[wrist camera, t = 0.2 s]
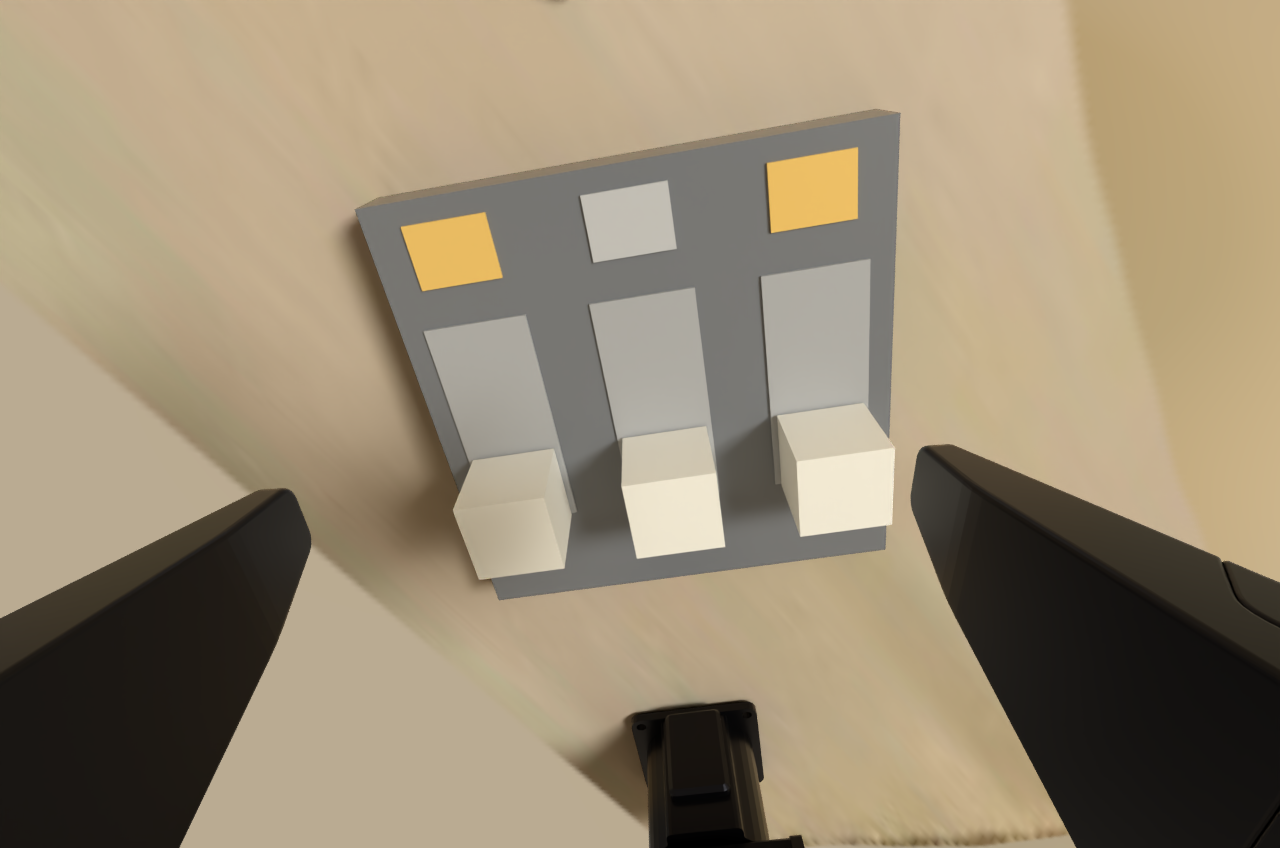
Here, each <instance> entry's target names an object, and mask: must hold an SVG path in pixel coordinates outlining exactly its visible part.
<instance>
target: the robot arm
mask: <svg viewBox="0 0 1280 848" xmlns="http://www.w3.org/2000/svg"><path fill="white" fill-rule="evenodd" d="M911 507H912V511H913V514H914V516H915V519H916V522H917V524H918V527H919V529H920V532H921V535H922V537H923V540H924V543H925V545H926V548H927V550H928V553H929V556H930V558H931V561H932V563H933V566H934V569H935V571H936V574H937V577H938V579H939V582H940V584H941V587H942V589H943V592H944V594H945V597H946V599H947V601H948V603H949V605H950V607H951V609H952V612H953V614H954V616H955V618H956V619H957V621H958V623H959V625H960V627H961V629H962V631H963V633H964V635H965V637H966V639H967V640H968V642H969V644H970V646H971V648H972V650H973V652H974V654H975V656H976V658H977V659H978V661H979V663H980V665H981V667H982V669H983V671H984V673H985V675H986V677H987V679H988V680H989V682H990V684H991V686H992V688H993V690H994V692H995V694H996V696H997V698H998V699H999V701H1000V703H1001V705H1002V707H1003V709H1004V711H1005V713H1006V715H1007V717H1008V719H1009V720H1010V722H1011V724H1012V726H1013V728H1014V730H1015V732H1016V734H1017V736H1018V738H1019V739H1020V741H1021V743H1022V745H1023V747H1024V749H1025V751H1026V753H1027V755H1028V757H1029V759H1030V760H1031V762H1032V764H1033V766H1034V768H1035V770H1036V772H1037V774H1038V776H1039V778H1040V779H1041V781H1042V783H1043V785H1044V787H1045V789H1046V791H1047V793H1048V795H1049V797H1050V799H1051V800H1052V802H1053V804H1054V806H1055V808H1056V810H1057V812H1058V814H1059V816H1060V818H1061V819H1062V821H1063V823H1064V825H1065V827H1066V829H1067V831H1068V833H1069V835H1070V837H1071V839H1072V840H1073V842H1074V844H1075V846H1076V848H1280V582H1277V581H1275V580H1272V579H1270V578H1267V577H1265V576H1263V575H1260V574H1258V573H1255V572H1253V571H1250V570H1248V569H1246V568H1244V567H1241V566H1239V565H1236V564H1234V563H1232V562H1230V561H1224V562H1221V559H1220V558H1219V557H1217V556H1215V555H1213V554H1210V553H1208V552H1205V551H1203V550H1201V549H1198V548H1196V547H1194V546H1191V545H1189V544H1186V543H1184V542H1182V541H1179V540H1177V539H1175V538H1172V537H1170V536H1168V535H1165V534H1163V533H1160V532H1158V531H1156V530H1153V529H1151V528H1149V527H1146V526H1144V525H1141V524H1139V523H1137V522H1134V521H1132V520H1130V519H1127V518H1125V517H1123V516H1120V515H1118V514H1115V513H1113V512H1111V511H1108V510H1106V509H1104V508H1101V507H1099V506H1096V505H1094V504H1092V503H1089V502H1087V501H1085V500H1082V499H1080V498H1078V497H1075V496H1073V495H1070V494H1068V493H1066V492H1063V491H1061V490H1059V489H1056V488H1054V487H1052V486H1049V485H1047V484H1044V483H1042V482H1040V481H1037V480H1035V479H1033V478H1030V477H1028V476H1025V475H1023V474H1021V473H1018V472H1016V471H1014V470H1011V469H1009V468H1007V467H1004V466H1002V465H999V464H997V463H995V462H992V461H990V460H988V459H985V458H983V457H980V456H978V455H976V454H973V453H971V452H969V451H966V450H964V449H962V448H959V447H957V446H954V445H950V444H945V445H930V446H924V447H922V448H921V449H920V450H919V452H918V455H917V459H916V465H915V472H914V478H913V484H912V490H911ZM310 549H311V534H310V531H309V529H308V526H307V524H306V521H305V519H304V516H303V514H302V511H301V509H300V506H299V504H298V501H297V499H296V497H295V495H294V494H293V492H292V491H290V490H288V489H285V488H279V489H264V490H258V491H256V492H254V493H252V494H250V495H248V496H246V497H244V498H242V499H240V500H238V501H236V502H234V503H232V504H229V505H228V506H225V507H224V508H221V509H219V510H217V511H215V512H213V513H211V514H209V515H207V516H205V517H203V518H201V519H199V520H197V521H195V522H193V523H192V524H189V525H187V526H185V527H183V528H181V529H180V530H178V531H175V532H173V533H171V534H169V535H167V536H165V537H163V538H161V539H159V540H157V541H155V542H153V543H151V544H149V545H147V546H145V547H143V548H141V549H139V550H137V551H135V552H133V553H131V554H129V555H127V556H125V557H123V558H121V559H119V560H117V561H115V562H113V563H111V564H109V565H107V566H105V567H103V568H101V569H99V570H97V571H95V572H93V573H91V574H89V575H87V576H85V577H83V578H81V579H79V580H77V581H75V582H73V583H71V584H69V585H67V586H65V587H63V588H61V589H59V590H57V591H55V592H53V593H51V594H49V595H47V596H45V597H43V598H41V599H39V600H37V601H34V602H32V603H30V604H29V605H26V606H24V607H22V608H20V609H18V610H16V611H15V612H12V613H10V614H8V615H6V616H4V617H2V618H0V848H179V847H180V845H181V843H182V841H183V839H184V837H185V835H186V832H187V830H188V829H189V826H190V824H191V822H192V820H193V818H194V816H195V814H196V812H197V810H198V808H199V806H200V804H201V801H202V799H203V797H204V795H205V793H206V791H207V789H208V787H209V785H210V783H211V780H212V778H213V776H214V774H215V772H216V770H217V768H218V766H219V764H220V762H221V760H222V758H223V755H224V753H225V751H226V749H227V747H228V745H229V743H230V741H231V739H232V737H233V735H234V732H235V730H236V728H237V726H238V724H239V722H240V720H241V718H242V716H243V713H244V712H245V710H246V707H247V705H248V703H249V701H250V699H251V697H252V695H253V693H254V691H255V689H256V686H257V684H258V682H259V680H260V678H261V676H262V674H263V672H264V670H265V668H266V666H267V663H268V662H269V659H270V657H271V655H272V653H273V650H274V648H275V646H276V644H277V641H278V639H279V636H280V634H281V631H282V629H283V626H284V623H285V620H286V618H287V615H288V612H289V609H290V606H291V604H292V601H293V598H294V595H295V592H296V589H297V587H298V584H299V580H300V578H301V575H302V572H303V570H304V567H305V564H306V561H307V558H308V555H309V553H310ZM632 731H633V735H634V738H635V742H636V746H637V750H638V753H639V757H640V761H641V765H642V769H643V772H644V776H645V780H646V784H647V787H648V817H649V848H805V847H804V844H803V840H802V836H801V835H793V836H789V838H786V839H775V840H769V834H768V829H767V823H766V818H765V812H764V807H763V801H762V796H761V790H760V785H759V782H761V781H762V780H763V778H764V775H763V766H762V757H761V748H760V740H759V731H758V722H757V713H756V708H755V705H754V704H753V703H750V702H741V703H732V704H724V705H715V706H707V707H698V708H690V709H681V710H673V711H664V712H655V713H647V714H639V715H636V716H634V717H633V718H632Z"/></svg>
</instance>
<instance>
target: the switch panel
mask: <svg viewBox="0 0 1280 848" xmlns="http://www.w3.org/2000/svg"><path fill="white" fill-rule="evenodd" d="M899 137H900V113H898V112H892V111H885V110H879V109H874V110H868V111H863V112H857V113H851V114H846V115H840V116H834V117H829V118H823V119H818V120H812V121H806V122H801V123H795V124H789V125H784V126H778V127H773V128H767V129H761V130H756V131H750V132H744V133H739V134H733V135H728V136H722V137H716V138H711V139H705V140H700V141H694V142H688V143H683V144H677V145H671V146H666V147H660V148H655V149H649V150H643V151H638V152H632V153H626V154H621V155H615V156H610V157H604V158H598V159H593V160H587V161H581V162H576V163H570V164H565V165H559V166H553V167H548V168H542V169H536V170H531V171H525V172H520V173H514V174H508V175H503V176H497V177H492V178H486V179H480V180H475V181H469V182H463V183H458V184H452V185H447V186H441V187H435V188H430V189H424V190H418V191H413V192H407V193H402V194H396V195H390V196H385V197H379V198H376V199H374V200H372V201H371V202H369V203H367V204H365V205H363V206H361V207H359V208H357V209H355V212H356V214H357V217H358V220H359V222H360V225H361V228H362V230H363V233H364V236H365V239H366V241H367V244H368V247H369V249H370V252H371V255H372V258H373V260H374V263H375V266H376V268H377V271H378V274H379V277H380V279H381V282H382V285H383V287H384V290H385V293H386V296H387V298H388V301H389V304H390V306H391V309H392V312H393V314H394V317H395V320H396V323H397V325H398V328H399V331H400V333H401V336H402V339H403V342H404V344H405V347H406V350H407V352H408V355H409V358H410V361H411V363H412V366H413V369H414V371H415V374H416V377H417V379H418V382H419V385H420V388H421V390H422V393H423V396H424V398H425V401H426V404H427V407H428V409H429V412H430V415H431V417H432V420H433V423H434V426H435V428H436V431H437V434H438V436H439V439H440V442H441V445H442V447H443V450H444V453H445V455H446V458H447V461H448V463H449V466H450V469H451V472H452V474H453V477H454V480H455V482H456V485H457V488H458V491H459V493H460V491H461V489H462V486H463V484H464V481H465V479H466V476H467V474H468V471H469V469H470V466H471V464H472V461H473V460H478V459H485V458H492V457H499V456H506V455H512V454H519V453H526V452H533V451H540V450H546V449H553V448H554V451H555V454H556V458H557V462H558V465H559V469H560V473H561V477H562V480H563V484H564V488H565V491H566V495H567V499H568V503H569V506H570V510H571V514H572V516H571V524H570V531H569V539H568V546H567V554H566V561H565V568H564V569H557V570H549V571H542V572H534V573H527V574H519V575H512V576H505V577H497V578H491V580H492V583H493V585H494V588H495V591H496V594H497V596H498V599H499V600H504V599H512V598H520V597H527V596H535V595H542V594H550V593H558V592H565V591H573V590H580V589H588V588H596V587H603V586H611V585H619V584H626V583H634V582H641V581H649V580H657V579H664V578H672V577H679V576H687V575H695V574H702V573H710V572H717V571H725V570H733V569H740V568H748V567H755V566H763V565H771V564H778V563H786V562H793V561H801V560H809V559H816V558H824V557H831V556H839V555H847V554H854V553H862V552H870V551H877V550H885V545H886V525H885V526H878V527H870V528H863V529H855V530H848V531H840V532H833V533H825V534H818V535H811V536H803V537H800V535H799V532H798V529H797V526H796V524H795V521H794V518H793V515H792V513H791V510H790V507H789V504H788V502H787V499H786V496H785V493H784V491H783V488H782V484H781V469H780V454H779V438H778V423H777V415H784V414H791V413H798V412H805V411H811V410H818V409H825V408H832V407H839V406H845V405H852V404H859V403H864V404H865V406H866V407H867V409H868V410H869V411H870V413H871V414H872V416H873V417H874V418H875V420H876V421H877V423H878V424H879V426H880V427H881V428H882V430H883V431H884V433H885V434H886V436H887V437H888V438H889V429H890V400H891V371H892V341H893V312H894V283H895V254H896V225H897V196H898V167H899ZM703 426H706V428H707V432H708V437H709V442H710V446H711V451H712V456H713V461H714V465H715V470H716V476H717V484H718V492H719V500H720V508H721V516H722V524H723V532H724V540H725V547H721V548H713V549H706V550H699V551H691V552H684V553H676V554H669V555H661V556H654V557H646V558H639V559H637V557H636V552H635V547H634V543H633V538H632V533H631V529H630V524H629V519H628V515H627V510H626V506H625V501H624V496H623V492H622V487H621V483H622V439H623V438H628V437H635V436H642V435H648V434H655V433H662V432H669V431H675V430H682V429H689V428H696V427H703Z"/></svg>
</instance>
